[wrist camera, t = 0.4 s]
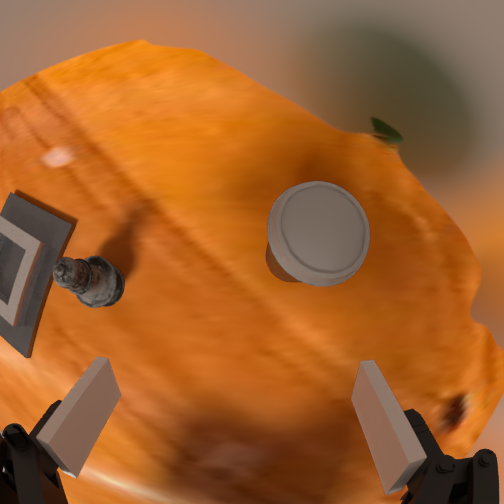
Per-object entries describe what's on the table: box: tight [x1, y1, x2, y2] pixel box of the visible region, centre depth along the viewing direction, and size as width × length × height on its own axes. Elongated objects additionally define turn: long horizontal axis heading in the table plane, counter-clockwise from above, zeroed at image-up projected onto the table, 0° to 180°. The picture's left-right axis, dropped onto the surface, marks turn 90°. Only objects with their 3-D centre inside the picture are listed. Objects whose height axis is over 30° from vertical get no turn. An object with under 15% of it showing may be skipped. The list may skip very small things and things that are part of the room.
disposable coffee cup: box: [266, 181, 370, 286], centre depth 28 cm, size 10×10×12 cm
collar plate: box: [0, 192, 75, 358], centre depth 27 cm, size 20×16×4 cm
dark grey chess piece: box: [53, 256, 124, 308], centre depth 25 cm, size 6×6×12 cm
